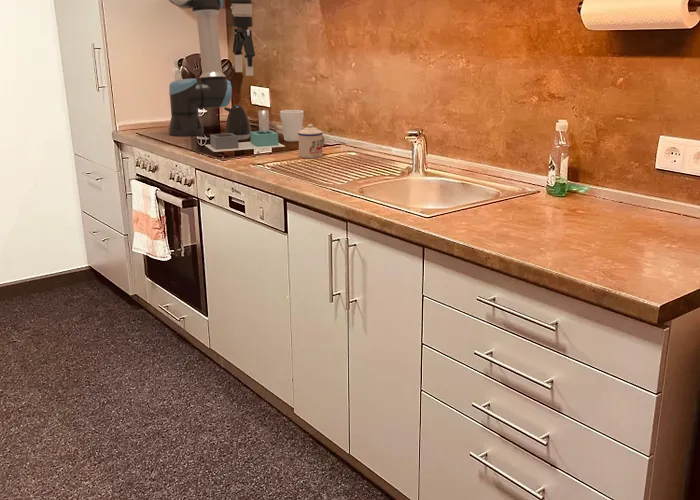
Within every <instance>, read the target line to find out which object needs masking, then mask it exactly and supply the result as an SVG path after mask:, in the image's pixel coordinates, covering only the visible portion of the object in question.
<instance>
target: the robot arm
mask: <svg viewBox="0 0 700 500" xmlns="http://www.w3.org/2000/svg"><path fill="white" fill-rule="evenodd" d="M168 1H169V3H171V4H173V5H174V6H176V7H179V8H184V9H185V8H187V9H192V14H193V15H194V16H195V17H196V23H197V34H198V42H199V52H200V63H201V75H200V76H199V78H198V79H199V81H197V79H196V78H192V77H191V78H183V79H178V80H173V81H172V82H170V83H169V91H168V92H169V93H168V95H169V101H170V103H169V104H170V113H171V117H170V122H169V127H168V135H169V136H176V137H193V136H201V135H203V134H204V133H205V131H204V126H203V124H202V121H201V119H200V115H199V110H200V109H201V110H202V109H219V108H220V109H221V108H225V107H226V108H227V107H228V106H229V105H230V103H231V100H232V96H233V94H232V93H233V91H232V90H233V89H232V87H233V86H232V83H231V81H230V80H228V79H227V75H225V74H224V72H223V69H222V57H221V47H220V39H219V38H220V36H219V27H218V15H219V14H220V12H221V11H220V9H221V8H223V6H224V0H168ZM230 9H231V14H232V15H233V16H232V17H231V22H232V24H231V25H232V27H235V28H234V30H233V32H234V34H233V35H234V36H233V44H232V53H233V54H234V68H235V69H234V72H235V73H243V71H244V70H243V49H244V53H245V55H244V58H245V59H244V60H245V62H244V63H245V76H247V77H249V76H251V77H252V76H254V57H255V56H256V53H255V47H254V43H253V42H254V41H253V36H252V29H249V28H252V27H253V17H252V15H253V2H252V0H231V5H230Z"/></svg>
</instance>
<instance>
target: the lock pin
mask: <svg viewBox="0 0 700 500" xmlns="http://www.w3.org/2000/svg"><path fill="white" fill-rule="evenodd" d="M257 114H258V131H259V134H269V131H270V119H269V117H270V115H269V114H270V113H269V110H268V109H259V110H258V111H257Z"/></svg>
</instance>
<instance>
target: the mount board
mask: <svg viewBox="0 0 700 500" xmlns="http://www.w3.org/2000/svg"><path fill="white" fill-rule="evenodd" d="M209 138H210V139H209V140H210V144H204V146H205V147H206V148H208V149H209V150H211V151H212V152H213V153H215V152H216V153H217V152H218V153H219V152H228V151H229V152H230V151H232V152H233V151H243V150H257V149H270V148H281V147H282V148H284V147H286V145H284V144H281V143H280V142H278V144H279V145H273V146H260V147H257V146H255V145H253V144H251V141H241V142H239V140H238V136H236V135H235V134H233V133H226V132H225V133H216V134H215V133H214V134H209Z"/></svg>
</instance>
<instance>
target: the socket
mask: <svg viewBox="0 0 700 500" xmlns="http://www.w3.org/2000/svg"><path fill="white" fill-rule="evenodd" d="M250 142H251V144H253V145H255V146H257V147H260V146H273V145H279V144H278V143H279V133H278V132H275V131H273V130H269V134H259V130H258V131H257V130H256V131H251V132H250Z"/></svg>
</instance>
